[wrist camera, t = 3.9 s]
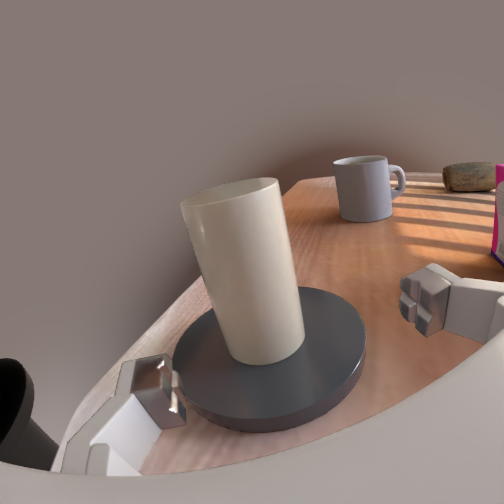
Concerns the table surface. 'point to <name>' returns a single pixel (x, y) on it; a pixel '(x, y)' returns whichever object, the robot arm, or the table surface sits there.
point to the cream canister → (248, 268)
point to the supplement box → (499, 216)
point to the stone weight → (470, 176)
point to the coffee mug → (366, 187)
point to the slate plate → (274, 369)
